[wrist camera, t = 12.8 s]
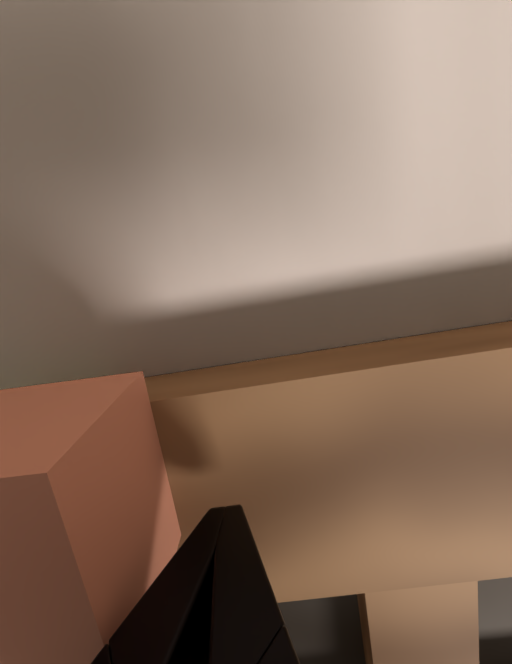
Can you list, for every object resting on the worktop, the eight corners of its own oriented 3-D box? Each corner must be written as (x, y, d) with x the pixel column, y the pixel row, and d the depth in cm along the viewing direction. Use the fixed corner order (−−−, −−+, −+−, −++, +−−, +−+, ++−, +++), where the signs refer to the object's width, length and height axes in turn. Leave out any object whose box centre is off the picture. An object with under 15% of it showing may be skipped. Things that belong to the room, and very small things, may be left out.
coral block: (180, 534, 10) (128, 721, 6) (14, 552, 10) (-138, 740, 6) (142, 371, 9) (46, 472, 5) (-46, 395, 9) (-278, 510, 5)
